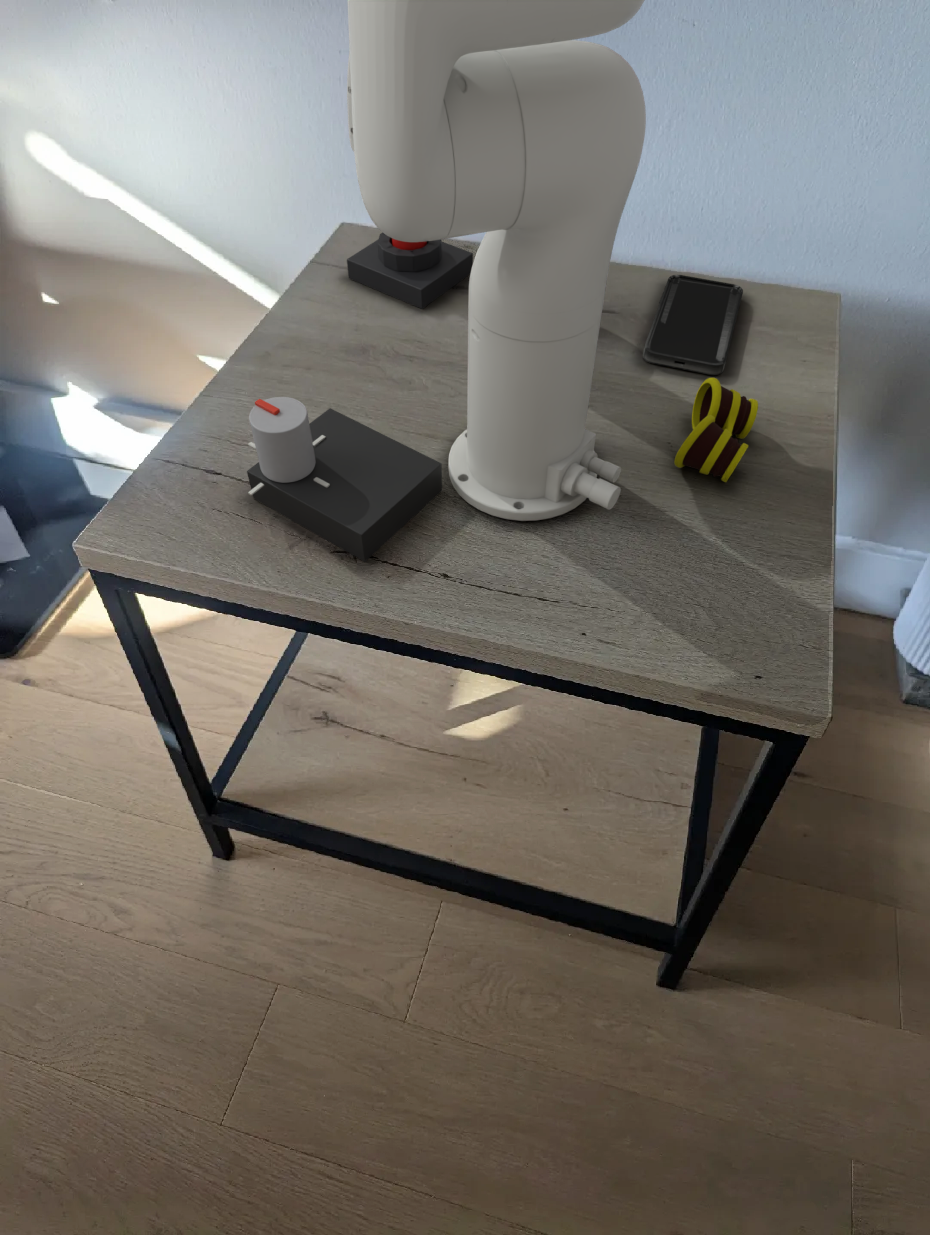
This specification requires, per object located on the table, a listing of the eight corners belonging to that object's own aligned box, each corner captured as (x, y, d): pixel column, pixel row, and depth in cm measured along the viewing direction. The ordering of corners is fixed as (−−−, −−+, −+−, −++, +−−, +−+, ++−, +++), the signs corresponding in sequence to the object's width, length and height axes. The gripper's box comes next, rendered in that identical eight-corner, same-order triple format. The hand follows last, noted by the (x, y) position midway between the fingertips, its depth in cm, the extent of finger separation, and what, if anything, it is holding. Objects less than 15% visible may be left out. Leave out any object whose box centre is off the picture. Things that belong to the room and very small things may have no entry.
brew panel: (442, 490, 72) (441, 461, 70) (349, 576, 66) (345, 547, 64) (316, 426, 77) (311, 397, 75) (219, 500, 71) (210, 471, 69)
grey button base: (473, 272, 94) (473, 236, 91) (422, 309, 89) (420, 273, 86) (400, 244, 97) (398, 209, 94) (348, 278, 93) (344, 242, 90)
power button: (433, 246, 91) (433, 230, 90) (412, 260, 89) (412, 244, 88) (407, 236, 92) (406, 220, 91) (385, 249, 91) (384, 233, 89)
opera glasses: (724, 499, 73) (750, 457, 69) (665, 475, 73) (689, 431, 69) (742, 430, 79) (768, 387, 75) (688, 408, 79) (711, 364, 75)
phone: (744, 286, 90) (724, 367, 81) (741, 296, 91) (721, 377, 82) (669, 272, 92) (641, 350, 83) (667, 282, 92) (639, 361, 83)
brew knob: (327, 461, 70) (318, 407, 66) (288, 490, 68) (278, 437, 63) (287, 439, 71) (276, 385, 67) (248, 468, 69) (235, 414, 65)
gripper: (306, 19, 76) (330, 224, 90) (442, 57, 71) (445, 269, 85) (361, -3, 80) (376, 197, 94) (494, 31, 74) (488, 238, 89)
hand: (408, 231), depth 89 cm, fingers closed
